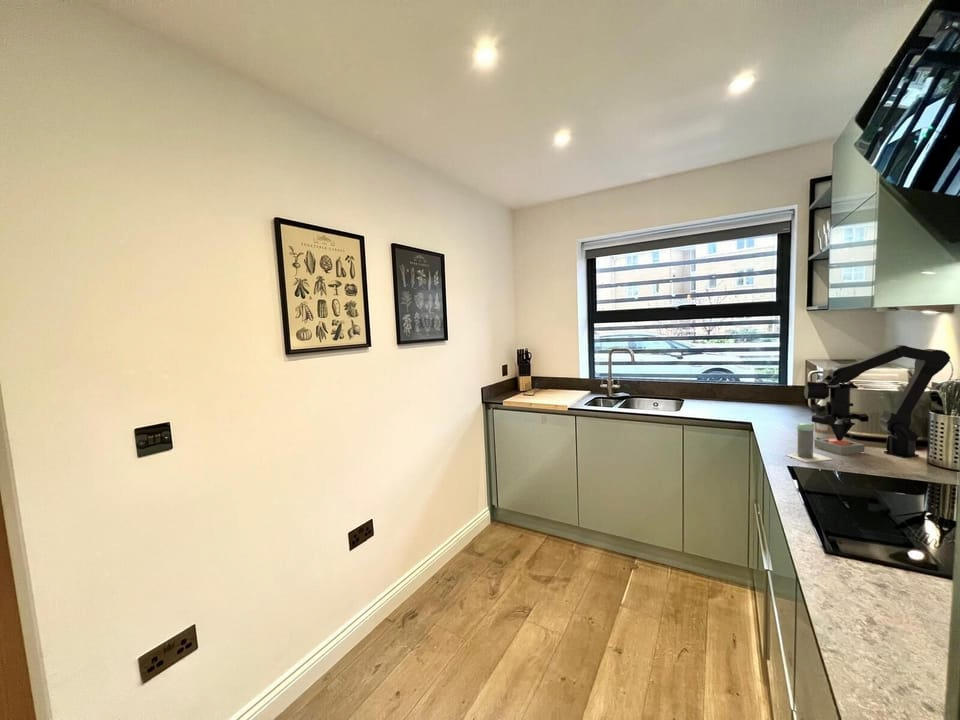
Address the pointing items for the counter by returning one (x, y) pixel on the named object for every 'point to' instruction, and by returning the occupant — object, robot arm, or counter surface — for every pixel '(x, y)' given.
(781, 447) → the counter surface
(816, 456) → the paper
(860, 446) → the button box
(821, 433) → the bath foam
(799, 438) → the grey green-topped canister
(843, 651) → the counter surface
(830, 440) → the button
